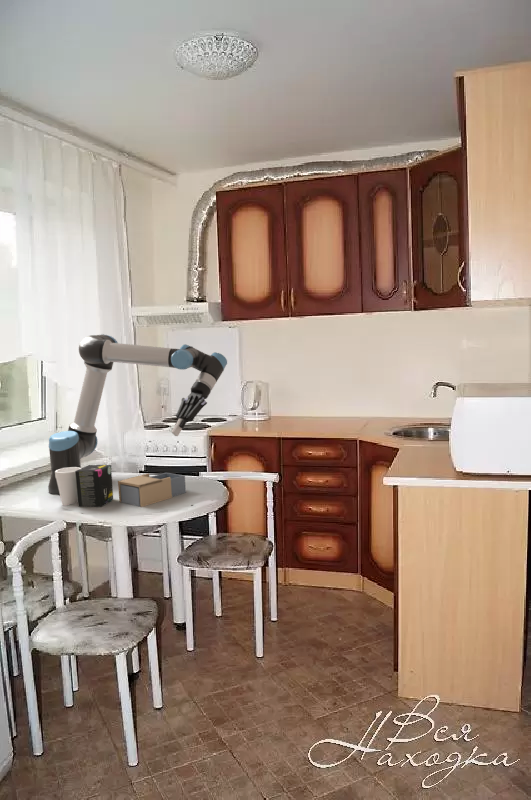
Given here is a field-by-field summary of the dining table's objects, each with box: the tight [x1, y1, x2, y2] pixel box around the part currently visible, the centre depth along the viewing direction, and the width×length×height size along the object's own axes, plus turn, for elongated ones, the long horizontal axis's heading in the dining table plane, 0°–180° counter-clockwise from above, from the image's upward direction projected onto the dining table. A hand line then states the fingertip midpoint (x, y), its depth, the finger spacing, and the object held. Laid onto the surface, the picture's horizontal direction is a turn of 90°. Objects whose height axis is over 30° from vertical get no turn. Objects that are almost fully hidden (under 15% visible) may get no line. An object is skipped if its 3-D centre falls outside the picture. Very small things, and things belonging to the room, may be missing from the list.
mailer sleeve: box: [117, 473, 173, 508], centre depth 238 cm, size 13×14×9 cm
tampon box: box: [75, 464, 114, 508], centre depth 237 cm, size 11×9×15 cm
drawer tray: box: [120, 472, 187, 507], centre depth 241 cm, size 11×22×7 cm, turn 139°
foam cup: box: [55, 467, 82, 507], centre depth 242 cm, size 10×9×13 cm
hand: (174, 434), depth 249 cm, fingers closed
